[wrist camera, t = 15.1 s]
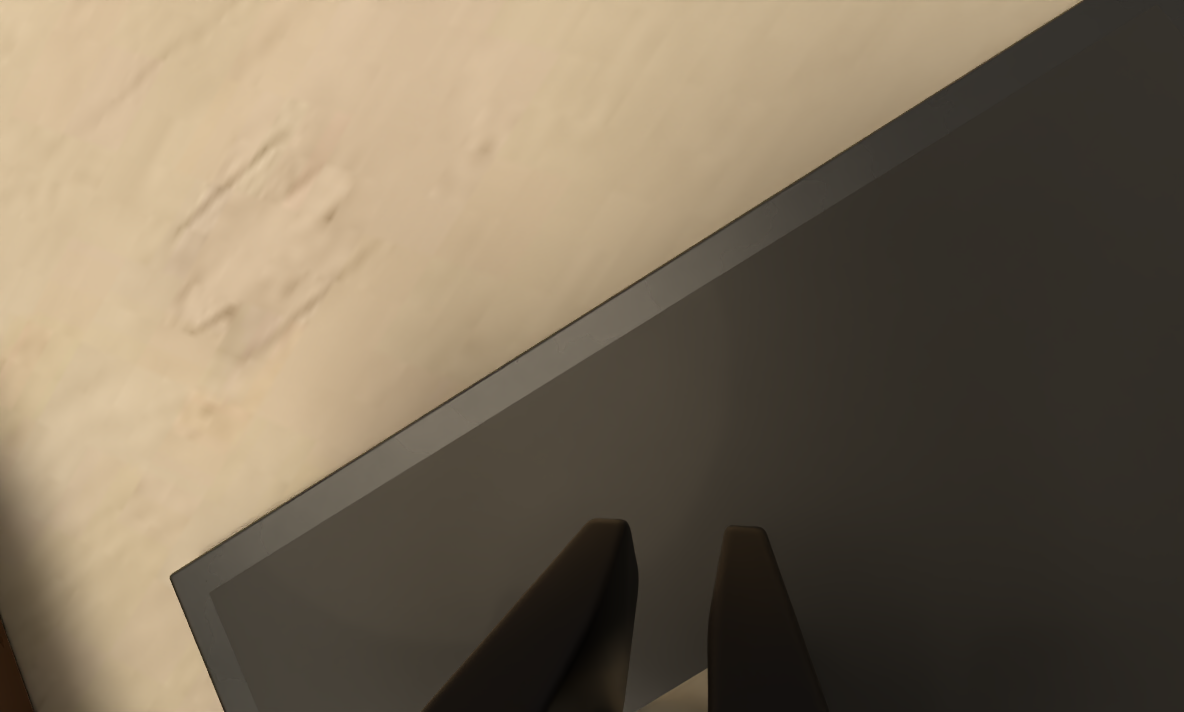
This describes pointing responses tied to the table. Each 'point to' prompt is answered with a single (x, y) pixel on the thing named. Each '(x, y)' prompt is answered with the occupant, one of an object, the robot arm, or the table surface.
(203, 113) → the table surface
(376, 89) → the table surface
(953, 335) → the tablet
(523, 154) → the table surface
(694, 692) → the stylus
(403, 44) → the table surface
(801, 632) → the robot arm
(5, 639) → the dock
